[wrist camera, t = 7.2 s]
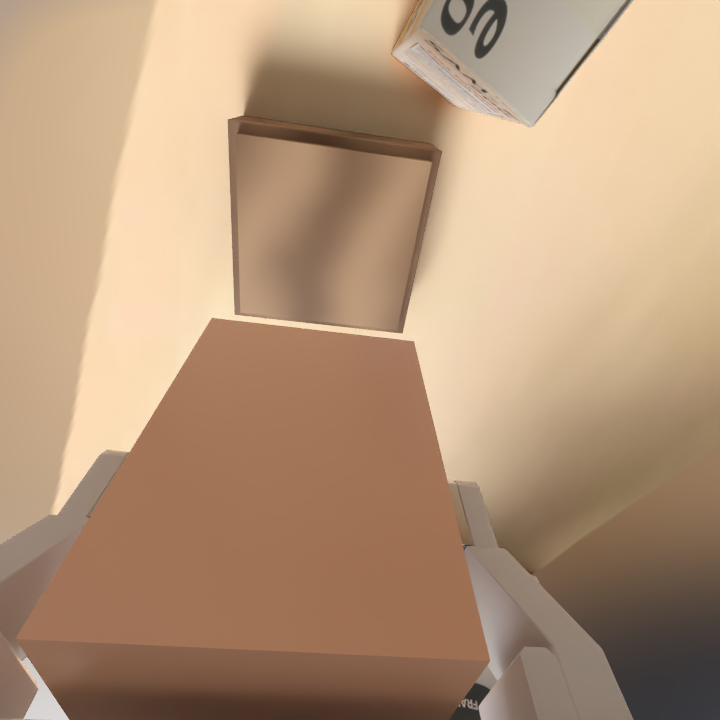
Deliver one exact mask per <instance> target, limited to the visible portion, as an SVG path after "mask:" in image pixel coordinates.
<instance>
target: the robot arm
mask: <svg viewBox="0 0 720 720" xmlns="http://www.w3.org/2000/svg"><path fill="white" fill-rule="evenodd" d="M129 453H130V452H124V451H114V450H106V451H105V452H103V453H102V454H100V455H99V457H98V458H97V459H96V461H95V462H94V464H93V465H92V467H91V468H90V469H89V471H88V472H87V474H86V475H85V477H84V478H83V479H82V481H81V482H80V484H79V485H78V487H77V488H76V489H75V491H74V492H73V494H72V495H71V497H70V498H69V499H68V501H67V502H66V504H65V505H64V507H63V508H62V509H61V511H60V512H59V514H58V515H48V516H47V517H45V518H43V519H42V520H40V521H38V522H37V523H35V524H33V525H32V526H30V527H28V528H27V529H25V530H24V531H22V532H20V533H19V534H17V535H16V536H14V537H12V538H11V539H9V540H7V541H6V542H4V543H2V544H1V545H0V720H30V719H23V718H24V716H25V714H26V712H27V710H28V708H29V706H30V704H31V703H32V701H33V699H34V697H35V695H36V693H37V691H38V687H37V683H36V681H35V679H34V678H33V676H32V675H31V673H30V672H29V671H28V669H27V668H26V666H25V665H24V664H23V662H22V661H23V660H24V659H25V658H26V657H27V655H26V654H25V652H24V651H23V649H22V648H21V646H20V645H19V643H18V642H17V640H16V637H17V636H18V634H19V633H20V631H21V629H22V628H23V626H24V624H25V623H26V621H27V619H28V618H29V616H30V615H31V613H32V611H33V610H34V608H35V606H36V605H37V603H38V601H39V600H40V598H41V597H42V595H43V593H44V592H45V590H46V588H47V587H48V585H49V584H50V582H51V580H52V579H53V577H54V575H55V574H56V572H57V570H58V569H59V567H60V566H61V564H62V562H63V561H64V559H65V557H66V556H67V554H68V552H69V551H70V549H71V548H72V546H73V544H74V543H75V541H76V539H77V538H78V536H79V534H80V533H81V531H82V530H83V528H84V526H85V525H86V523H87V521H88V520H89V518H90V517H91V515H92V513H93V512H94V510H95V508H96V507H97V505H98V503H99V502H100V500H101V499H102V497H103V495H104V494H105V492H106V490H107V489H108V487H109V485H110V484H111V482H112V481H113V479H114V477H115V476H116V474H117V472H118V471H119V469H120V468H121V466H122V464H123V463H124V461H125V459H126V458H127V456H128V454H129ZM447 482H448V486H449V490H450V494H451V499H452V503H453V507H454V511H455V515H456V520H457V524H458V528H459V532H460V536H461V540H462V545H463V549H464V553H465V557H466V561H467V565H468V570H469V574H470V578H471V582H472V586H473V590H474V595H475V599H476V603H477V607H478V611H479V615H480V620H481V624H482V628H483V632H484V636H485V641H486V645H487V649H488V653H489V657H490V662H489V664H488V665H487V667H486V668H485V669H484V671H483V672H482V674H481V675H480V676H479V678H478V679H477V681H476V682H475V683H474V685H473V686H472V688H471V689H470V690H469V692H468V693H467V695H466V696H465V698H464V699H463V700H462V702H461V703H460V705H459V706H458V707H457V709H456V710H455V712H454V713H453V714H452V716H451V717H450V719H449V720H633V718H632V716H631V714H630V711H629V709H628V707H627V704H626V702H625V700H624V698H623V696H622V693H621V691H620V689H619V686H618V684H617V682H616V680H615V677H614V675H613V673H612V671H611V668H610V666H609V664H608V661H607V660H606V657H605V655H604V652H603V650H602V648H601V647H600V646H599V645H597V643H596V642H595V641H594V640H593V639H592V638H591V637H590V636H589V635H588V634H587V633H586V632H585V631H584V630H583V629H582V628H581V627H580V626H579V625H578V624H577V623H576V622H575V620H574V619H573V618H572V617H571V616H570V615H569V614H568V613H567V612H566V611H565V610H564V609H563V608H562V607H561V606H560V605H559V604H558V603H557V602H556V601H555V600H554V599H553V598H552V597H551V596H550V594H549V593H548V592H547V591H546V590H545V589H544V588H543V587H542V586H541V585H540V583H539V580H538V578H537V577H536V576H534V575H530V574H529V573H528V572H527V571H526V570H525V569H524V568H523V566H522V565H521V564H520V563H519V562H518V561H517V560H516V559H515V558H514V557H513V556H512V555H511V554H510V553H509V552H508V551H507V550H506V549H504V548H499V547H498V544H497V541H496V538H495V535H494V532H493V529H492V525H491V522H490V519H489V516H488V513H487V510H486V507H485V504H484V501H483V497H482V494H481V491H480V488H479V486H478V485H477V484H476V483H474V482H462V481H452V480H447Z"/></svg>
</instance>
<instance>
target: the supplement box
mask: <svg viewBox="0 0 720 720" xmlns="http://www.w3.org/2000/svg"><path fill="white" fill-rule="evenodd" d="M632 1H633V0H419V1H418V3H417V5H416V7H415V9H414V11H413V13H412V15H411V16H410V18H409V20H408V22H407V24H406V26H405V28H404V30H403V32H402V33H401V35H400V37H399V39H398V41H397V43H396V45H395V46H394V48H393V50H392V53H391V54H392V56H393V57H395V58H396V59H397V60H398V61H400V62H401V63H402V64H403V65H405V66H406V67H407V68H408V69H410V70H411V71H412V72H414V73H415V74H416V75H417V76H418V77H420V78H421V79H422V80H423V81H425V82H426V83H427V84H428V85H430V86H431V87H432V88H433V89H435V90H436V91H437V92H438V93H440V94H441V95H442V96H443V97H444V98H446V99H447V100H448V101H449V102H450V103H452V104H453V105H454V106H455V107H458V108H461V109H465V110H469V111H473V112H476V113H480V114H484V115H488V116H492V117H496V118H500V119H504V120H508V121H512V122H516V123H519V124H523V125H525V126H527V127H532V126H534V125H535V124H536V123H537V121H538V120H539V119H540V118H541V117H542V115H543V114H544V113H545V112H546V110H547V109H548V108H549V107H550V105H551V104H552V103H553V102H554V101H555V99H556V98H557V97H558V95H559V94H560V93H561V91H562V90H563V89H564V87H565V86H566V85H567V84H568V82H569V81H570V80H571V78H572V77H573V76H574V74H575V73H576V72H577V71H578V69H579V68H580V67H581V66H582V64H583V63H584V62H585V61H586V60H587V58H588V57H589V56H590V55H591V53H592V52H593V51H594V50H595V49H596V47H597V46H598V45H599V44H600V42H601V41H602V40H603V39H604V37H605V36H606V35H607V34H608V32H609V31H610V29H611V28H612V27H613V26H614V25H615V23H616V22H617V21H618V20H619V18H620V17H621V16H622V14H623V13H624V12H625V10H626V9H627V8H628V6H629V5H630V4H631V3H632Z"/></svg>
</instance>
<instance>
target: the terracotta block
mask: <svg viewBox="0 0 720 720" xmlns="http://www.w3.org/2000/svg"><path fill="white" fill-rule="evenodd" d="M16 640H17V642H18V643H19V645H20V646H21V648H22V649H23V651H24V652H25V654H26V655H27V657H28V658H29V660H30V661H31V663H32V664H33V666H34V667H35V668H36V670H37V672H38V673H39V675H40V676H41V677H42V679H43V681H44V682H45V684H46V685H47V687H48V688H49V690H50V691H51V693H52V694H53V696H54V697H55V699H56V700H57V702H58V703H59V705H60V706H61V708H62V709H63V710H64V712H65V714H66V715H67V716H68V718H69V720H449V719H450V717H451V716H452V714H453V713H454V712H455V710H456V709H457V707H458V706H459V705H460V703H461V702H462V700H463V699H464V698H465V696H466V695H467V693H468V692H469V690H470V689H471V688H472V686H473V685H474V683H475V682H476V681H477V679H478V678H479V676H480V675H481V674H482V672H483V671H484V669H485V668H486V667H487V665H488V664H489V662H490V657H489V653H488V649H487V645H486V641H485V636H484V632H483V628H482V624H481V620H480V615H479V611H478V607H477V603H476V599H475V595H474V590H473V586H472V582H471V578H470V574H469V570H468V565H467V561H466V557H465V553H464V549H463V545H462V540H461V536H460V532H459V528H458V524H457V520H456V515H455V511H454V507H453V503H452V499H451V494H450V490H449V486H448V482H447V478H446V474H445V469H444V465H443V461H442V457H441V453H440V449H439V444H438V440H437V436H436V432H435V428H434V424H433V419H432V415H431V411H430V407H429V403H428V399H427V394H426V390H425V386H424V382H423V378H422V373H421V369H420V365H419V361H418V357H417V353H416V348H415V344H414V341H406V340H397V339H388V338H380V337H371V336H362V335H354V334H345V333H336V332H328V331H319V330H310V329H302V328H293V327H284V326H276V325H267V324H258V323H250V322H241V321H232V320H224V319H215V318H212V319H211V320H210V322H209V324H208V325H207V327H206V329H205V330H204V332H203V334H202V335H201V337H200V338H199V340H198V342H197V343H196V345H195V347H194V348H193V350H192V352H191V353H190V355H189V356H188V358H187V360H186V361H185V363H184V365H183V366H182V368H181V369H180V371H179V373H178V374H177V376H176V378H175V379H174V381H173V383H172V384H171V386H170V387H169V389H168V391H167V392H166V394H165V396H164V397H163V399H162V401H161V402H160V404H159V405H158V407H157V409H156V410H155V412H154V414H153V415H152V417H151V418H150V420H149V422H148V423H147V425H146V427H145V428H144V430H143V432H142V433H141V435H140V436H139V438H138V440H137V441H136V443H135V445H134V446H133V448H132V450H131V451H130V453H129V454H128V456H127V458H126V459H125V461H124V463H123V464H122V466H121V468H120V469H119V471H118V472H117V474H116V476H115V477H114V479H113V481H112V482H111V484H110V485H109V487H108V489H107V490H106V492H105V494H104V495H103V497H102V499H101V500H100V502H99V503H98V505H97V507H96V508H95V510H94V512H93V513H92V515H91V517H90V518H89V520H88V521H87V523H86V525H85V526H84V528H83V530H82V531H81V533H80V534H79V536H78V538H77V539H76V541H75V543H74V544H73V546H72V548H71V549H70V551H69V552H68V554H67V556H66V557H65V559H64V561H63V562H62V564H61V566H60V567H59V569H58V570H57V572H56V574H55V575H54V577H53V579H52V580H51V582H50V584H49V585H48V587H47V588H46V590H45V592H44V593H43V595H42V597H41V598H40V600H39V601H38V603H37V605H36V606H35V608H34V610H33V611H32V613H31V615H30V616H29V618H28V619H27V621H26V623H25V624H24V626H23V628H22V629H21V631H20V633H19V634H18V636H17V637H16Z"/></svg>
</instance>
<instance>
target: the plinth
mask: <svg viewBox="0 0 720 720" xmlns="http://www.w3.org/2000/svg"><path fill="white" fill-rule="evenodd" d="M228 138H229V166H230V194H231V221H232V249H233V277H234V305H235V315H243V316H252V317H261V318H270V319H279V320H288V321H297V322H306V323H315V324H323V325H332V326H341V327H350V328H359V329H368V330H377V331H386V332H395V333H403V328H404V324H405V319H406V314H407V310H408V305H409V300H410V296H411V291H412V287H413V282H414V277H415V273H416V268H417V264H418V259H419V254H420V250H421V245H422V240H423V236H424V231H425V227H426V222H427V217H428V213H429V208H430V204H431V199H432V194H433V190H434V185H435V180H436V176H437V171H438V167H439V162H440V157H441V153H442V151H440V150H439V149H438V148H436V147H435V146H434V145H432V144H428V143H421V142H414V141H408V140H401V139H394V138H388V137H381V136H374V135H368V134H361V133H354V132H348V131H341V130H335V129H328V128H321V127H315V126H308V125H301V124H295V123H288V122H281V121H275V120H268V119H261V118H255V117H248V116H240V117H236V118H232V119H228Z"/></svg>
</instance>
